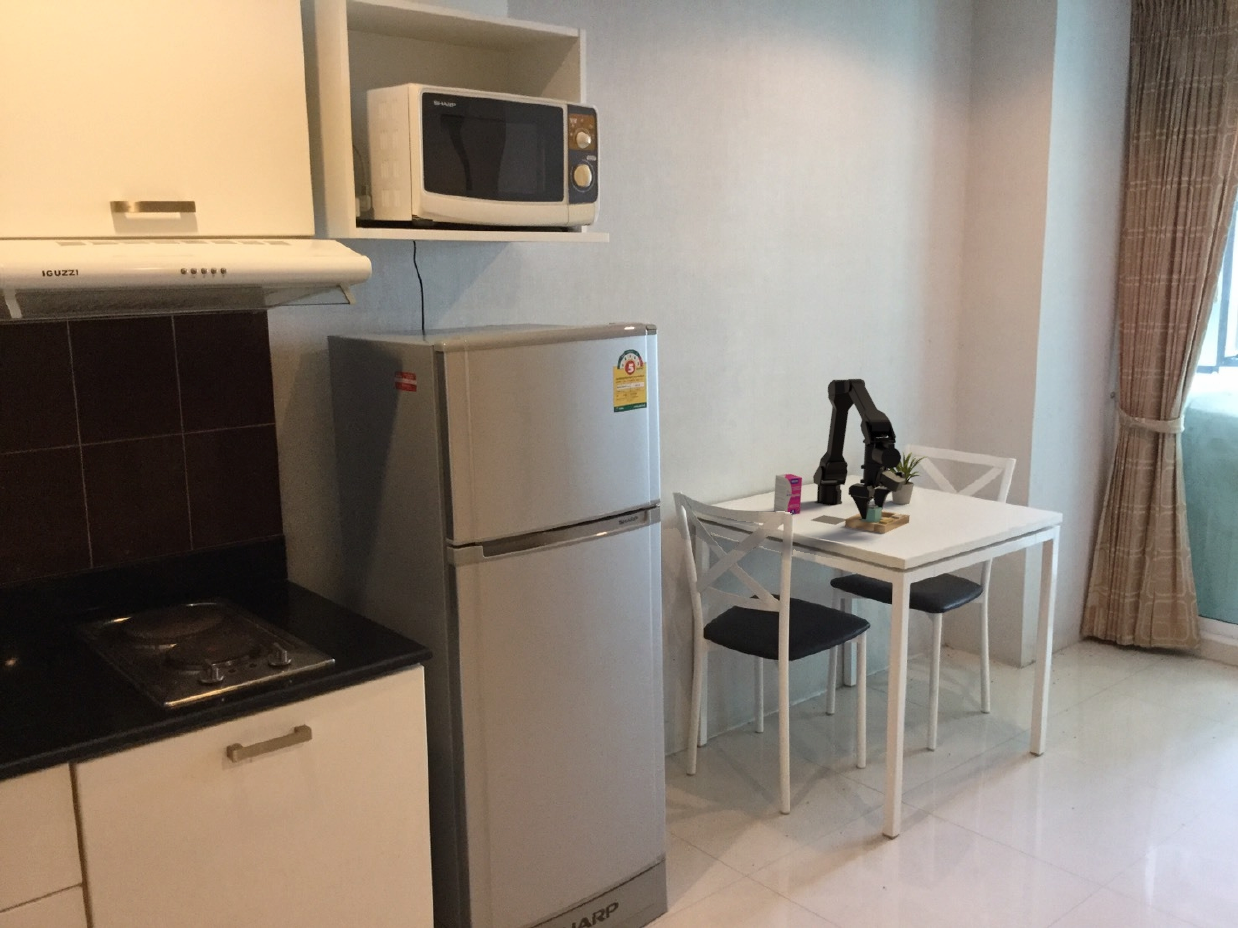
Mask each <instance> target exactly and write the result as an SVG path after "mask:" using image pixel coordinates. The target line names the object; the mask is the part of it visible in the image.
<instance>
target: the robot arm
mask: <svg viewBox="0 0 1238 928" xmlns="http://www.w3.org/2000/svg"><path fill="white" fill-rule="evenodd" d="M866 387H867V386H866V382H865V380H864V379H862V378H848V379H832V380H831V381H830V382H829V383H828V385H827V393H828V394H827V395H828V396H827V398H828V400H829V402H830V405H831V407H832V408H831V415H830V416H831V417H830V423H829V424H830V425H829V430H828V431H829V432H828V439H827V447H826V448H827V449H826V452H825V453H824V455H822V457H821V458H820V460H819V464H818V467H817V469H816V470H815V471H814V474H813V476H812V477H813V479H812V481H813V484H814V485H817V494H816V501H814V502H813V503H815V504H817V505H818V504H819V505H820V504H821V505H825V506H831V507H833V506H836V505H841V504H842V503H843V501H842V489H841V486H845V484H846V481H847V476H848V464H849V463H848V461H846V459H845V457H844V454H843V453H844V448H845V447H844V446H845V439H846V432H847V425H848V418H849V417H848V416H849V411H850V409H851V407H853V405H854V406H855V408H856V411H857V412H858V415H859V416H860V419H861V421H860V425H859V426H860V431H861V433H862V436H863V438H864V439H863V440H862V443H863V444H864V453H863V454H864V456H863V464H860V469H861V470H863V475H862V478H861V479H860V481H859V483H858V482H857V483H853V484H851V485H850V486H849V487H848V496H850V497H851V498H852V500H853V502H854V504H855V505H856V508H857V510H858V514H859V513H860V515H861V517H862V519H866V518H867V513H868V508H869V505H870V502H871V501H872V500H873V503H874V504H873V505H877V506H878V507H881V508H882V509H884V505H885V502H886V500H887V498H888V495H889V494H892V491H893V492H897V491H899V490H901V488H902V486H903V484H905V483H906V481H905V480H906V479H905V473H904V472H902V471H899V472H898V471H896V472H897V473H896V474H894V472H893V473H892V472H889V471H888V470H890V469H891V468H894V469H896V468H895V467H896V466H897V465H898V464H899V463H900V461H901V460H902V454H901V453H900V451H899V449H897V448H896V442H897V441H896V438H897V436H896V433H895V430H894V428H893V424H892V422H891V420H890V418H889V417H888V416H887V415H886V413H884V412H883V411H881V410H880V409H878V408H877V406H876V404H875V403H874V401H873V399H872V397H871V395H870V393H869V391H868V389H867V388H866ZM901 462H902V461H901ZM888 468H889V469H888Z"/></svg>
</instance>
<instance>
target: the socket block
mask: <svg viewBox="0 0 1238 928" xmlns="http://www.w3.org/2000/svg"><path fill="white" fill-rule="evenodd" d="M910 516H911V515H909V514H904V513H898V512H891V511H884V510H882V511H881V520H880V521H879V522H878V523H873V522H867V521H862V517H861V515H860V513H859V512H858V514H855V515H852V516H849V517H847V518H844V519H845V521H844V527H846V528H852V529H858V530H863V531H867V532H875V533H881V534H887V533H889V532H890V531H891V532H892V531H893V530H896V529H898V528H900V527H902V526H904V525H907V524H910Z"/></svg>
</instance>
